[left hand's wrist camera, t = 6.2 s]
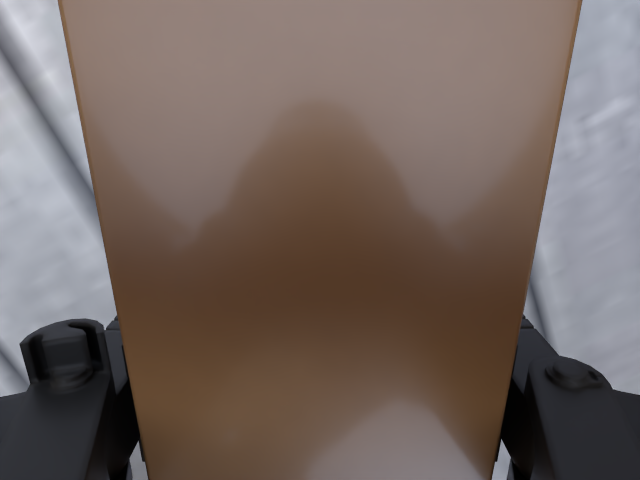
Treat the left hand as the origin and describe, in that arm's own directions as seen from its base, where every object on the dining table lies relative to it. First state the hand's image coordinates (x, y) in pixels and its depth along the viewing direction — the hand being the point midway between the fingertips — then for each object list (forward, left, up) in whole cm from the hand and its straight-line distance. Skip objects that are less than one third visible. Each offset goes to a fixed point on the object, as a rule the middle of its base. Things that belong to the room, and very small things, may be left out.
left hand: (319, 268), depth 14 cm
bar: (+32, +7, -1) cm, 33 cm away
